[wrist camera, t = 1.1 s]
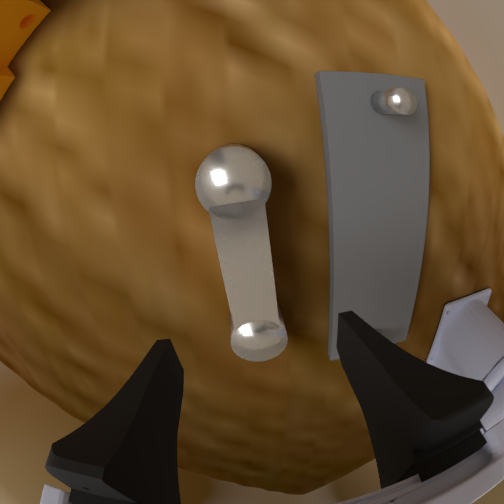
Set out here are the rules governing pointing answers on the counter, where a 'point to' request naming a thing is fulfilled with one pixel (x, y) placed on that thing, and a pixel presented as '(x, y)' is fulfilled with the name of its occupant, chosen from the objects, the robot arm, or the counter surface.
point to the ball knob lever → (243, 247)
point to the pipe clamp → (16, 32)
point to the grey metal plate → (374, 196)
